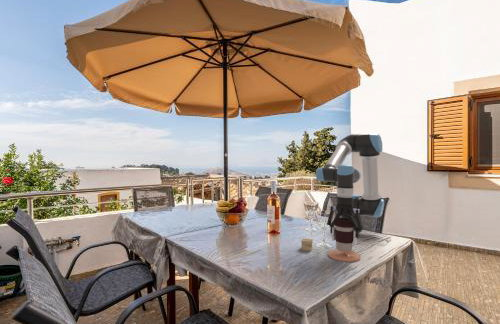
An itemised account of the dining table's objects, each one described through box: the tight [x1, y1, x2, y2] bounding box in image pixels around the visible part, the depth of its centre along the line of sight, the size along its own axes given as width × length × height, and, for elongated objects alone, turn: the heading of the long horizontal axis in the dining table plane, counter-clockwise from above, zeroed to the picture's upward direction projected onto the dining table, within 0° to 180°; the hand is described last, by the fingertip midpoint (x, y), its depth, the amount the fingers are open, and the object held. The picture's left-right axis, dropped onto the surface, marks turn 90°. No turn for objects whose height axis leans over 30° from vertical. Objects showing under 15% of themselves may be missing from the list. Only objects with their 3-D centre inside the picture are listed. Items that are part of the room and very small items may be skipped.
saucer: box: [327, 248, 362, 263], centre depth 135 cm, size 15×15×1 cm
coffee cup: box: [334, 217, 354, 252], centre depth 135 cm, size 10×10×15 cm
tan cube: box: [300, 237, 313, 252], centre depth 145 cm, size 5×5×5 cm
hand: (344, 242), depth 135 cm, fingers closed on coffee cup, 10 cm apart
